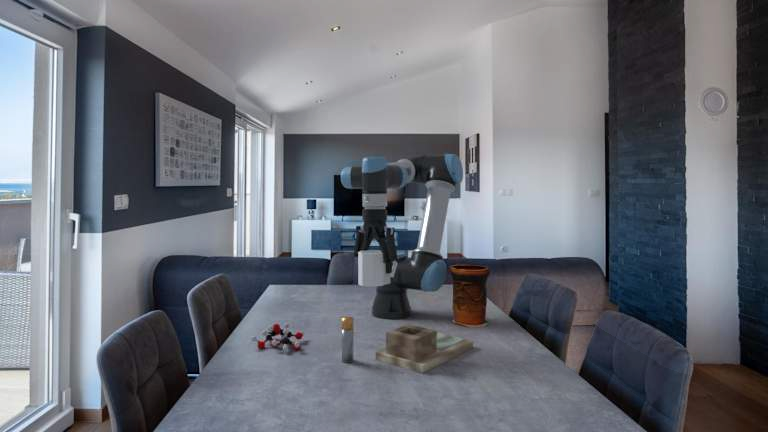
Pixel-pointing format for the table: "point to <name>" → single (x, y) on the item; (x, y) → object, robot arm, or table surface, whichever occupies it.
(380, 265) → the mug
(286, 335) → the molecular model
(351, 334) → the cylindrical pin
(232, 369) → the table surface
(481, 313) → the vessel
